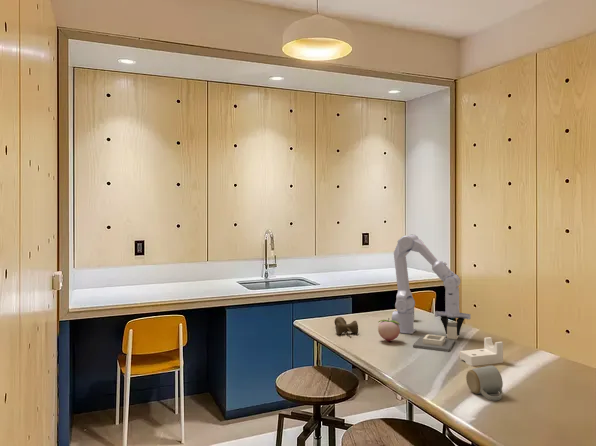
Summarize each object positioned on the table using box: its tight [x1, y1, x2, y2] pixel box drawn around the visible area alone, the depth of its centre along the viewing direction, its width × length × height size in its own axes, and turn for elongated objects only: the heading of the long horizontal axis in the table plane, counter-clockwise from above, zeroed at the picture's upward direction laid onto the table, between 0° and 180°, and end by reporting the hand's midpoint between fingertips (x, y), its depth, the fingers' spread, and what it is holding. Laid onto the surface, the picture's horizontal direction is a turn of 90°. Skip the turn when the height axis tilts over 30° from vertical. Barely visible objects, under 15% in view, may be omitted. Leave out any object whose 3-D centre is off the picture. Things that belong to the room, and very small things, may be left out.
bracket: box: [459, 336, 504, 367], centre depth 168 cm, size 13×7×8 cm, turn 104°
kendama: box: [334, 316, 359, 336], centre depth 212 cm, size 6×10×20 cm
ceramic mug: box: [465, 365, 504, 402], centre depth 138 cm, size 11×8×8 cm
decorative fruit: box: [377, 317, 401, 342], centre depth 195 cm, size 9×8×10 cm
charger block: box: [446, 321, 459, 340], centre depth 199 cm, size 4×4×6 cm
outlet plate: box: [412, 334, 456, 353], centre depth 189 cm, size 14×14×3 cm
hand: (452, 334), depth 199 cm, fingers open, 4 cm apart
